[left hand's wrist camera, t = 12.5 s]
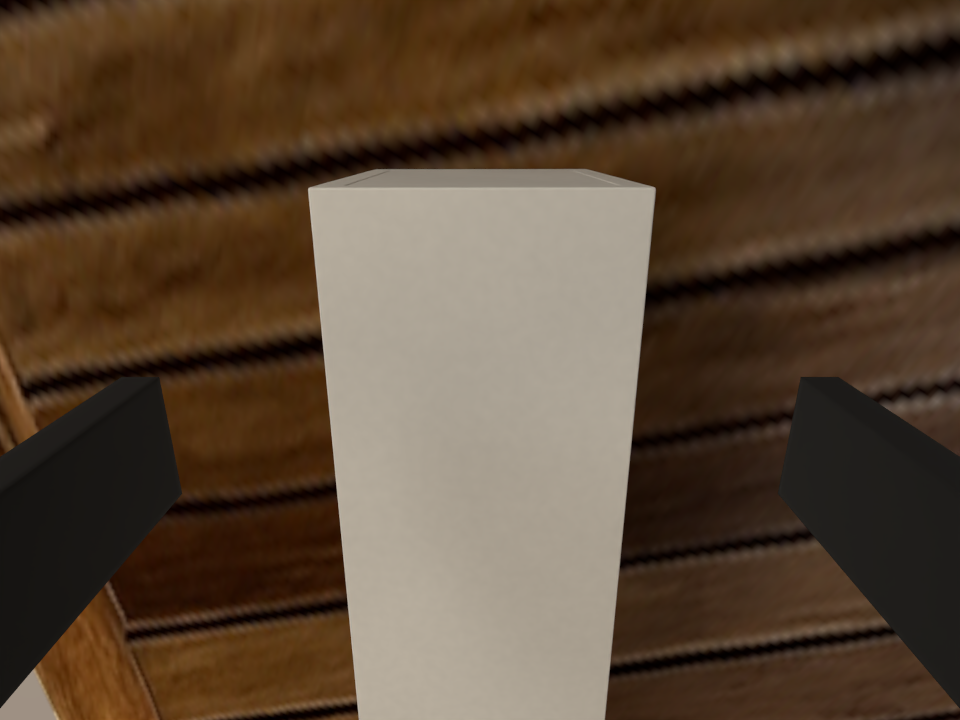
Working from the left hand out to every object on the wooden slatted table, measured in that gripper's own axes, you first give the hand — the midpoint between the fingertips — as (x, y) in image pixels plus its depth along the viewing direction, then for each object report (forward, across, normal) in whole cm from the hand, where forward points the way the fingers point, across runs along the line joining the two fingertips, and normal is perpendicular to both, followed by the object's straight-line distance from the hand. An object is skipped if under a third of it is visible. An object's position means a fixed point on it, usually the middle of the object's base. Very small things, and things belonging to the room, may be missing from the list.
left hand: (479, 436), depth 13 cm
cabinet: (+18, 0, -6) cm, 19 cm away
